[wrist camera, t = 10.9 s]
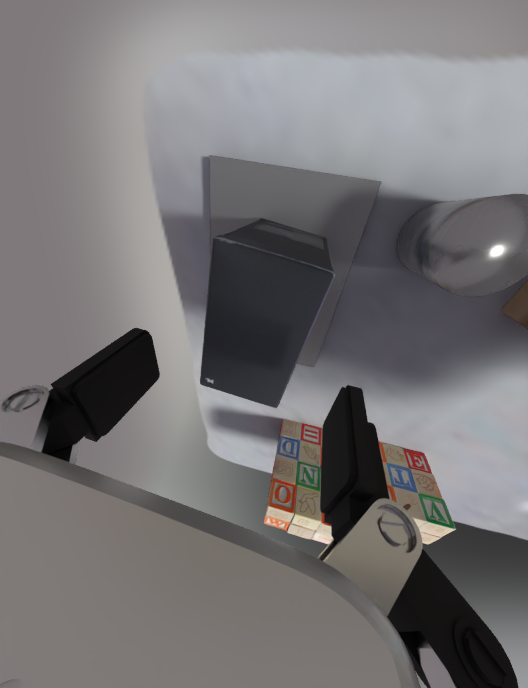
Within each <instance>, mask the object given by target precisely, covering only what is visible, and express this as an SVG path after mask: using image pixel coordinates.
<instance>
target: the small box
mask: <svg viewBox="0 0 528 688" xmlns="http://www.w3.org/2000/svg"><path fill="white" fill-rule="evenodd" d="M334 277H335V273H334V269H333V265H332V261H331V257H330V253H329V248H328V243H327V239H326V238H324V237H322V236H318V235H315V234H312V233H309V232H306V231H303V230H299V229H296V228H293V227H289V226H286V225H283V224H279V223H277V222H273V221H270V220H266V219H263V218H260V219H258V220H257V221H255V222H252V223H251V224H248V225H246V226H243V227H241V228H239V229H236V230H234V231H232V232H229V233H225V234H223V235H217V236H214V237H213V239H212V252H211V262H210V274H209V285H208V295H207V308H206V319H205V330H204V343H203V354H202V365H201V378H200V384H201V385H203V386H206V387H210V388H213V389H216V390H220V391H223V392H226V393H229V394H232V395H235V396H239V397H242V398H245V399H248V400H251V401H254V402H258V403H261V404H264V405H267V406H271V407H274V408H277V407H278V405H279V403H280V400H281V398H282V396H283V394H284V391H285V389H286V387H287V384H288V382H289V380H290V377H291V375H292V373H293V371H294V368H295V366H296V364H297V361H298V359H299V357H300V354H301V352H302V350H303V348H304V345H305V343H306V341H307V339H308V336H309V334H310V332H311V330H312V327H313V325H314V323H315V320H316V318H317V316H318V314H319V312H320V309H321V307H322V305H323V303H324V300H325V298H326V296H327V294H328V291H329V289H330V287H331V284H332V282H333V280H334Z"/></svg>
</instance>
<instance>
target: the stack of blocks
mask: <svg viewBox="0 0 528 688" xmlns="http://www.w3.org/2000/svg"><path fill="white" fill-rule="evenodd" d="M322 430H323V429H321V428H319V427H315V426H311V425H307V424H302V423H299V422H295V421H291V420H286V419H283V422H282V426H281V431H280V436H279V440H278V446H277V452H276V457H275V462H274V467H273V473H272V479H271V484H270V489H269V494H268V502H267V507H266V513H265V519H264V523H265V524H268V525H271V526H274V527H277V528H280V529H283V530H287V532H288V533H290V534H294V535H297V536H300V537H303V538H307V539H313V540H316V541H319V542H323V543H326V544H330V542H331V541H332V540H333V537H332V536H331V524H328V523H325V522H324V513H322V512H321V511H320V491H321V460H322ZM379 447H380V452H381V457H382V462H383V467H384V472H385V477H386V483H387V488H388V493H389V498H390V500H393V501H395V502H396V503H398V504H400V505H401V506H402V507H403V508H404V509H406V510H407V511H408V513H409V514H410V515H411V516H412V518H413V519H414V521H415V522H416V524H417V526H418V528H419V531H420V534H421V537H422V543H426V544H430V543H432V542H434V541H436V540H438V539H440V538H441V537H442V536H444V535H446V534H448V533H450V532H452V531H454V530H455V526H454V524H453V521H452V519H451V516H450V514H449V511H448V509H447V506H446V504H445V501H444V500H443V499H442V496H441V493H440V491H439V488H438V486H437V483H436V481H435V478H434V476H433V474H432V472H431V469H430V466H429V464H428V461H427V459H426V456H425V454H424V453H420V452H416V451H412V450H407V449H402V448H401V447H397V446H393V445H389V444H385V443H380V442H379Z"/></svg>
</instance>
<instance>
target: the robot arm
mask: <svg viewBox="0 0 528 688" xmlns="http://www.w3.org/2000/svg"><path fill="white" fill-rule="evenodd" d="M159 375H160V373H159V368H158V364H157V359H156V354H155V349H154V345H153V340H152V336H151V335H150V334H149V332H148V331H146V330H142V329H139V328H134V329H132V330H130V331H129V332H128V333H126V334H125V335H123V336H122V337H120V338H119V339H117V340H116V341H114V342H113V343H111V344H110V345H108V346H107V347H105V348H104V349H102V350H101V351H99V352H98V353H96V354H95V355H93V356H92V357H91V358H89V359H87V360H86V361H84V362H83V363H82V364H80V365H79V366H77V367H76V368H74V369H73V370H71V371H70V372H68V373H67V374H65V375H64V376H62V377H61V378H59V379H58V380H57V381H55V382H53V383H52V384H51V385H52V387H53V389H52V390H50V391H49V390H48V388H47V387H44V386H40V385H34V386H28V387H24V388H21V389H18V390H15V391H13V392H11V393H10V394H8V395H6V396H5V397H3V398H2V399H1V400H0V688H421V687H420V684H419V681H418V678H417V675H416V672H417V674H418V676H419V677H420V678H421V680H422V681H423V682H424V684H425V685H426V686H427V688H518V683H517V678H516V675H515V673H514V670H513V668H512V665H511V663H510V660H509V658H508V657H507V655H506V653H505V651H504V649H503V648H502V646H501V644H500V643H499V641H498V640H497V638H496V637H495V636H494V634H493V633H492V632H491V630H490V629H489V628H488V627H487V625H486V624H485V623H484V622H483V621H482V620H481V618H480V617H479V616H478V615H477V614H476V612H475V611H474V610H473V609H472V607H471V606H470V605H469V604H468V603H467V602H466V600H465V599H464V598H463V597H462V595H461V594H460V593H459V592H458V591H457V589H456V588H455V587H454V586H453V585H452V583H451V582H450V581H449V580H448V579H447V578H446V576H445V575H444V574H443V573H442V572H441V570H440V569H439V568H438V567H437V565H436V564H435V563H434V562H433V561H432V559H431V558H430V557H429V556H428V555H427V553H426V552H425V551H424V550H423V549H422V548H423V545H422V537H421V534H420V531H419V528H418V526H417V524H416V522H415V521H414V519H413V518H412V516H411V515H410V514H409V513H408V511H407V510H406V509H404V508H403V507H402V506H401V505H400V504H398V503H396V502H395V501H393V500H390V498H389V493H388V488H387V483H386V477H385V472H384V467H383V462H382V457H381V452H380V447H379V442H378V437H377V432H376V428H375V426H374V424H372V423H369V422H368V421H367V415H366V409H365V403H364V397H363V391H362V389H361V388H357V387H353V386H350V385H348V386H347V387H346V388H344V387H342V388H341V390H340V392H339V394H338V396H337V398H336V400H335V402H334V404H333V406H332V408H331V410H330V412H329V414H328V416H327V418H326V420H325V422H324V424H323V430H322V460H321V491H320V511H321V512H322V513H324V522H325V523H328V524H331V536H332V537H333V540H332V541H331V542H330V544H329V545H328V546H327V547H326V548H325V550H324V551H323V552H322V553H321V554H320V555H319V557H318V558H315V557H313V556H311V555H309V554H307V553H305V552H303V551H300V550H298V549H296V548H294V547H291V546H289V545H287V544H284V543H282V542H279V541H276V540H274V539H272V538H269V537H266V536H264V535H261V534H259V533H257V532H254V531H252V530H249V529H246V528H244V527H241V526H238V525H235V524H233V523H230V522H228V521H225V520H222V519H220V518H217V517H215V516H212V515H209V514H207V513H204V512H201V511H198V510H196V509H193V508H191V507H188V506H185V505H183V504H180V503H177V502H175V501H172V500H169V499H167V498H164V497H161V496H159V495H156V494H153V493H151V492H148V491H145V490H143V489H140V488H137V487H134V486H132V485H129V484H126V483H124V482H121V481H118V480H116V479H113V478H110V477H107V476H104V475H102V474H99V473H97V472H94V471H91V470H88V469H86V468H83V467H80V466H77V465H76V460H77V454H78V448H79V442H80V440H81V439H82V438H83V437H84V436H85V438H87V439H89V440H92V441H95V442H97V441H98V440H99V439H100V438H101V436H104V435H106V434H107V433H108V432H109V431H110V430H111V429H112V428H113V427H114V426H115V425H116V424H117V423H118V422H119V421H120V420H121V419H122V417H123V416H124V415H125V414H126V413H127V412H128V411H129V410H130V409H131V408H132V407H133V405H134V404H136V403H137V401H138V400H139V399H140V398H141V397H142V396H143V395H144V394H145V393H146V392H147V391H148V390H149V389H150V387H152V385H153V384H154V383H155V382H156V381H157V380H158V378H159ZM415 671H416V672H415Z"/></svg>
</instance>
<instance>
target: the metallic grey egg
mask: <svg viewBox="0 0 528 688" xmlns="http://www.w3.org/2000/svg"><path fill="white" fill-rule="evenodd" d="M397 253H398V257H399V259H400V261H401V262H402V263H403V264H404V265H405V266H406V267H407V268H409V269H411V270H412V271H414V272H416V273H417V274H419V275H421V276H423V277H424V278H426V279H428V280H429V281H431V282H433V283H435V284H436V285H438V286H440V287H441V288H443V289H445V290H447V291H448V292H450V293H452V294H455V295H459V296H464V297H478V296H485V295H489V294H493V293H496V292H499V291H501V290H503V289H506V288H508V287H510V286H511V285H513V284H515V283H517V282H518V281H520V280H521V279H523V278H524V277H525V276H527V275H528V195H526V194H510V195H502V196H493V197H485V198H476V199H468V200H459V201H450V202H442V203H436V204H433V205H430V206H428V207H426V208H424V209H422V210H420V211H419V212H417V213H416V214H415V215H414V216H413V217H412V218H411V219H410V220H409V221H408V222H407V223H406V224H405V226H404V227H403V229H402V231H401V233H400V235H399V238H398V242H397Z"/></svg>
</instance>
